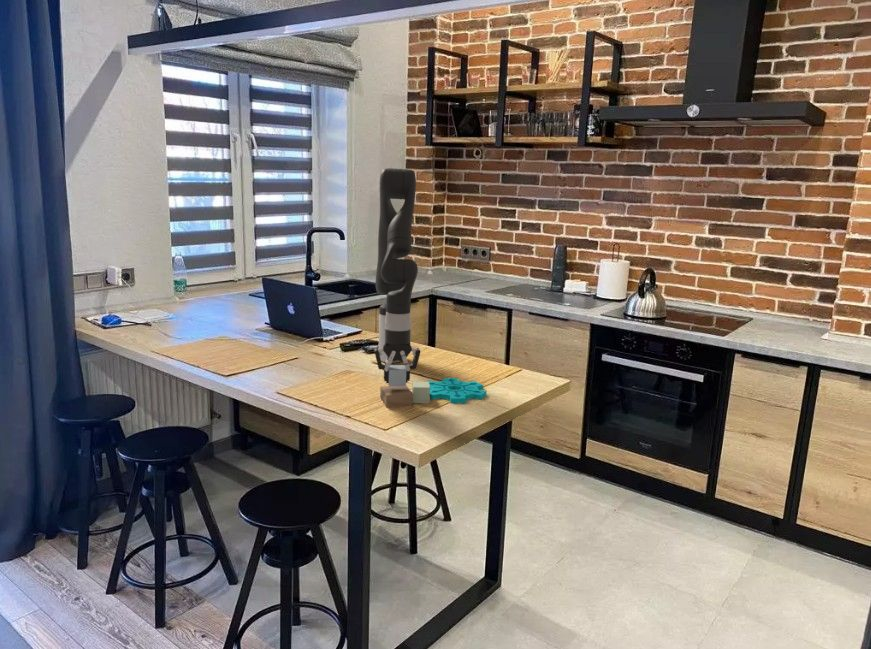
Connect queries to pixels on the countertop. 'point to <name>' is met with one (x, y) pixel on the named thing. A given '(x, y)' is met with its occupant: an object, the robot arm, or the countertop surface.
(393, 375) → the slate cube
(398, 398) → the walnut base
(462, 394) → the decorative ornament
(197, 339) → the countertop surface
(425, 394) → the sage block
